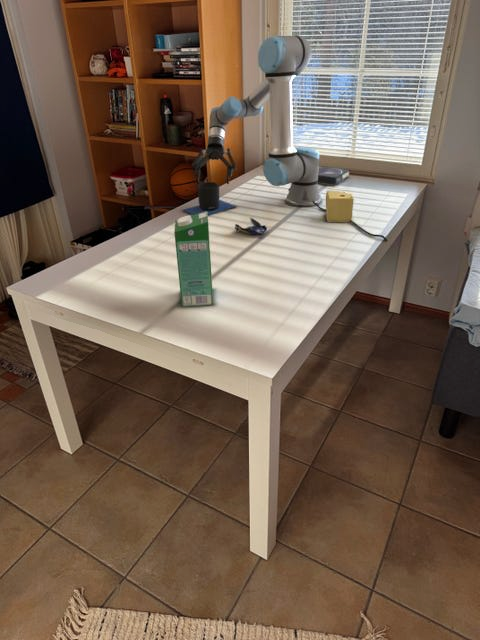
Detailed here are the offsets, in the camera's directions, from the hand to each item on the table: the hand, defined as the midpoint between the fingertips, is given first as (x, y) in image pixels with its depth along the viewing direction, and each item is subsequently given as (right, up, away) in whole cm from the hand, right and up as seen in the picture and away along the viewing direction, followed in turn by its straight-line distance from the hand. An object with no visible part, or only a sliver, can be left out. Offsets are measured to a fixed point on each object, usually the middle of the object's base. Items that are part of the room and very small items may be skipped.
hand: (212, 182), depth 211 cm
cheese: (+53, -20, -17) cm, 59 cm away
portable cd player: (+57, +10, +31) cm, 66 cm away
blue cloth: (-1, -13, -4) cm, 14 cm away
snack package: (+17, -28, -29) cm, 44 cm away
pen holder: (-1, -13, -4) cm, 13 cm away
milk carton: (0, -56, -72) cm, 91 cm away
